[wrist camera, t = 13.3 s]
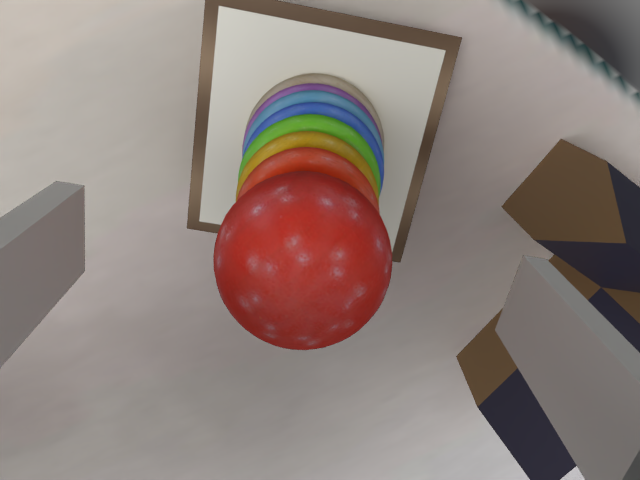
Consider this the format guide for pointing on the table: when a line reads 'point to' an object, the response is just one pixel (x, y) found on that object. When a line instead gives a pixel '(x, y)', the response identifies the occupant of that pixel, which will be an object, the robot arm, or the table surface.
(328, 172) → the stacking toy
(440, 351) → the table surface
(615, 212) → the toy building blocks
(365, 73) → the base block
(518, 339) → the robot arm
